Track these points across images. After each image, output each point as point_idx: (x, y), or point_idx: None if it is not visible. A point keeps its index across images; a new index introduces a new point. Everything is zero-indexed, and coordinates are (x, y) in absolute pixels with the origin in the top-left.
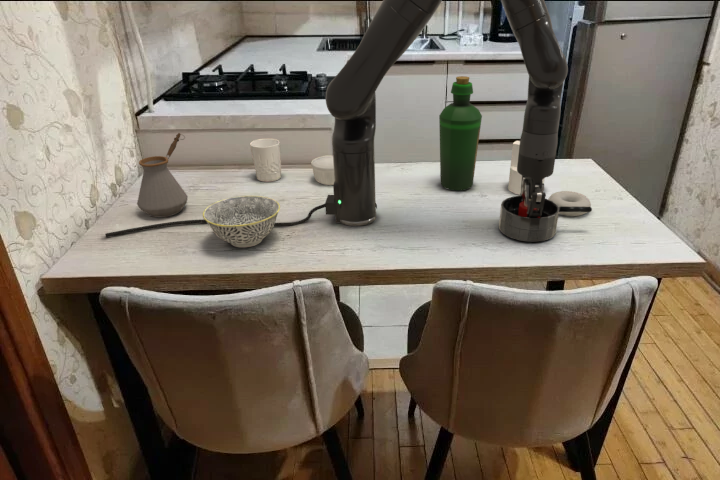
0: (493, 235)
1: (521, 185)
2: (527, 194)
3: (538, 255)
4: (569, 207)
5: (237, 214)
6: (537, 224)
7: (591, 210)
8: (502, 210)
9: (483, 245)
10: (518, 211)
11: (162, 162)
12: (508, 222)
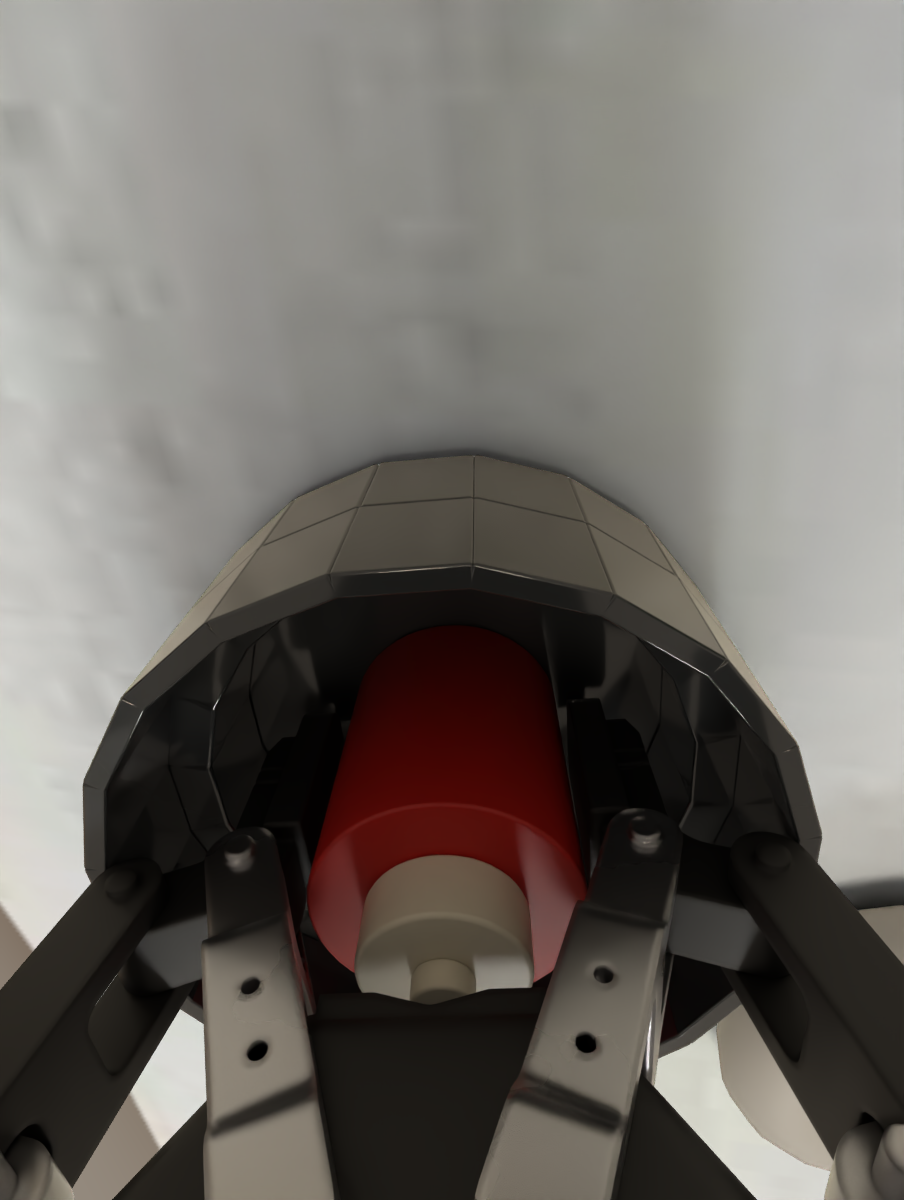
0: (305, 385)
1: (891, 976)
2: (212, 1085)
3: (31, 733)
4: None
5: None
6: None
7: None
8: (318, 565)
9: (32, 261)
10: (451, 736)
11: None
12: (210, 594)
